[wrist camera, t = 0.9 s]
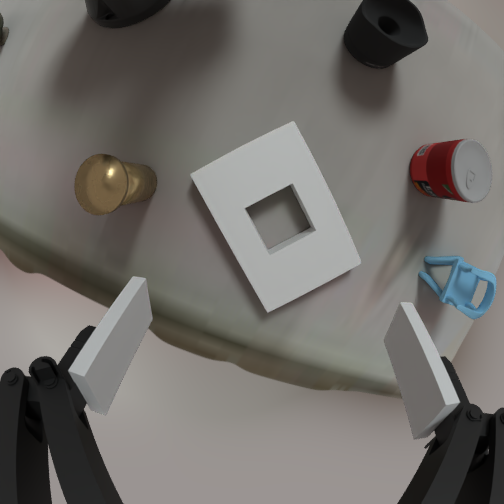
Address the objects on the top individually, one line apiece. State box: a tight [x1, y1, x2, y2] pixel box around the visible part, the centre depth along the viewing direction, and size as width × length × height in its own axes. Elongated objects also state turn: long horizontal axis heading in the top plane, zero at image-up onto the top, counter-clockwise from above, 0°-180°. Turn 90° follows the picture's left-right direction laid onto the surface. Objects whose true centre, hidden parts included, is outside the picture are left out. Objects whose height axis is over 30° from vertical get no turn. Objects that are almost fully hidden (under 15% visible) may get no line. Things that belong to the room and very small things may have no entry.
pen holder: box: [344, 0, 428, 68], centre depth 27 cm, size 9×9×10 cm
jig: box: [190, 121, 362, 313], centre depth 37 cm, size 20×14×3 cm
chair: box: [419, 256, 496, 319], centre depth 35 cm, size 8×8×12 cm
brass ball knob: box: [75, 154, 157, 215], centre depth 31 cm, size 6×6×12 cm
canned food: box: [410, 139, 492, 203], centre depth 31 cm, size 8×8×11 cm
